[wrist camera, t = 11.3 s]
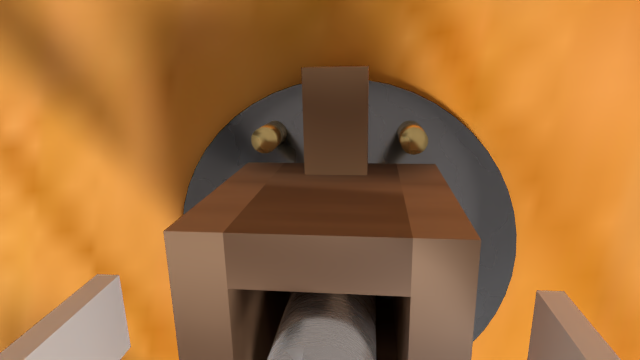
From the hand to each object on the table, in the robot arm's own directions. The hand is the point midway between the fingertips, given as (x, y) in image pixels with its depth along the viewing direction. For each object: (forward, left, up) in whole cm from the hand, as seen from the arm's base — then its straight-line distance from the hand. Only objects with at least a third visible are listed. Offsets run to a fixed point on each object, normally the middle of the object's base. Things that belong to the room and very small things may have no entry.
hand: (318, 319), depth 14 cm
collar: (-1, +1, -6) cm, 6 cm away
